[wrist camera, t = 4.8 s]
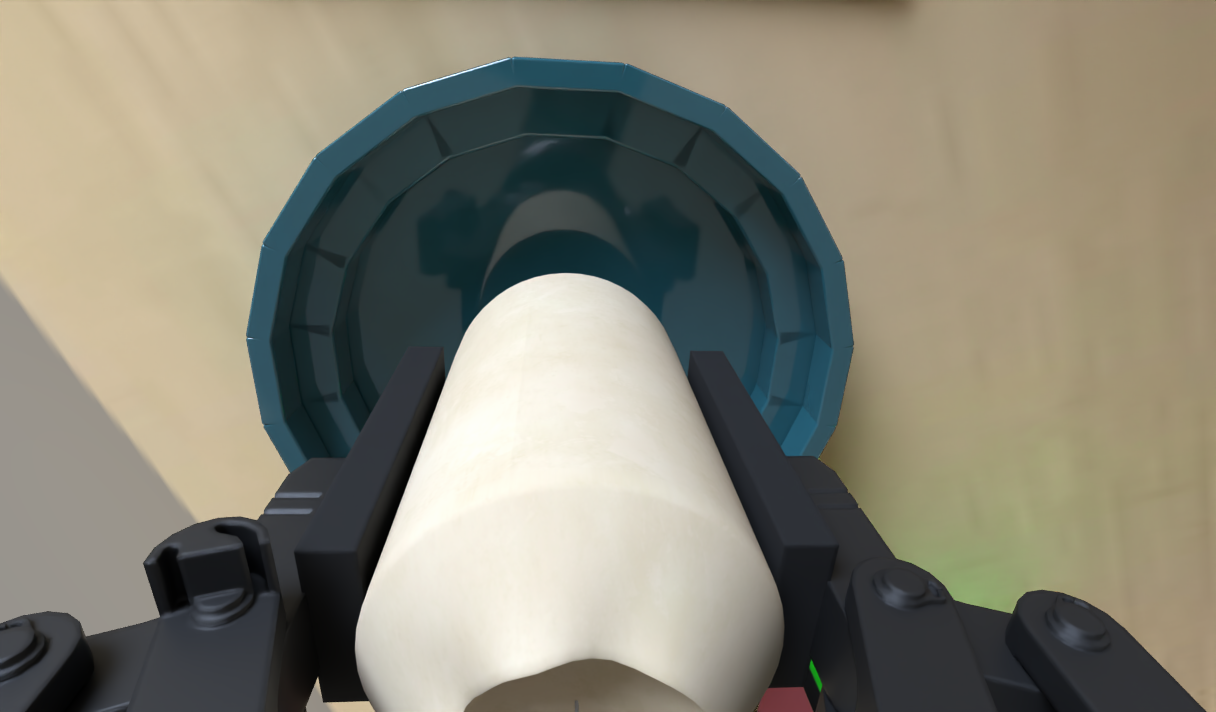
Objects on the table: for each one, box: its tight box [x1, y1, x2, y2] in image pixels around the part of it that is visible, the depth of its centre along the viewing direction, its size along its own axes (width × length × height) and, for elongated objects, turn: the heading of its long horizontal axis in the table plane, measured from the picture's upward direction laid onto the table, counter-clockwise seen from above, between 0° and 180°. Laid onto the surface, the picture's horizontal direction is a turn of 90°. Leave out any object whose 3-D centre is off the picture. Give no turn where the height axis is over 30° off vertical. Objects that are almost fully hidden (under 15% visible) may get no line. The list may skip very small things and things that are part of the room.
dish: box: [246, 57, 854, 473], centre depth 17 cm, size 15×15×3 cm
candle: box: [355, 273, 785, 712], centre depth 11 cm, size 6×6×10 cm
